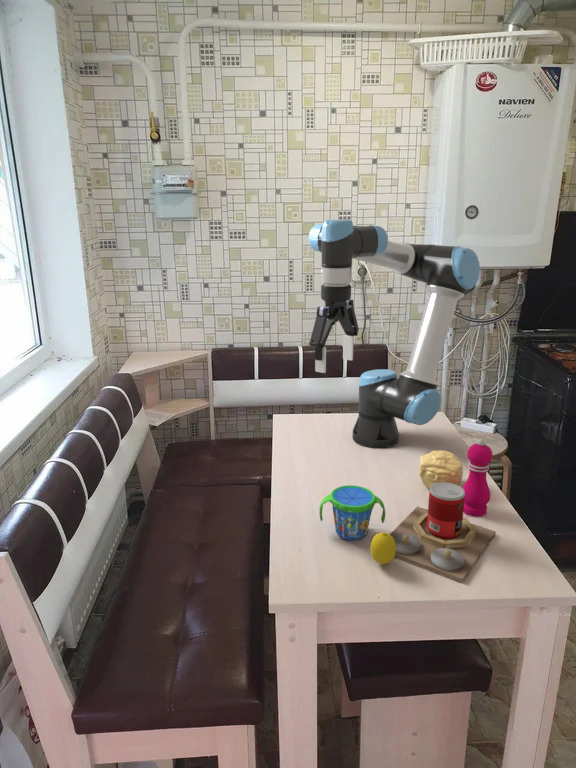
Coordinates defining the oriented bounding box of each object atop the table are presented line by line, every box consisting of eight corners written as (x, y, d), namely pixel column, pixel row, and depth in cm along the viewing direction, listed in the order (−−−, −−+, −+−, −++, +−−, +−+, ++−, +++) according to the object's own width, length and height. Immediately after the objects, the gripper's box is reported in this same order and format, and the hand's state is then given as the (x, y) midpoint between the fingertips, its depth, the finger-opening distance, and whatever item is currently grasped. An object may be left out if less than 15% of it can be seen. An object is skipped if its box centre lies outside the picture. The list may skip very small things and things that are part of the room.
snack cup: (384, 523, 146) (386, 486, 143) (384, 548, 136) (386, 509, 133) (321, 518, 148) (321, 482, 145) (316, 542, 139) (317, 504, 135)
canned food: (462, 541, 137) (466, 499, 133) (426, 538, 138) (430, 496, 135) (459, 524, 144) (463, 483, 140) (426, 520, 145) (429, 480, 142)
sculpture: (414, 492, 161) (416, 456, 157) (424, 473, 171) (426, 439, 168) (457, 501, 156) (460, 464, 153) (464, 481, 167) (468, 446, 163)
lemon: (399, 563, 131) (401, 531, 128) (386, 575, 127) (387, 542, 124) (378, 553, 134) (380, 522, 132) (364, 564, 130) (366, 533, 128)
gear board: (417, 509, 152) (418, 497, 151) (495, 535, 141) (496, 522, 140) (377, 550, 135) (377, 537, 134) (462, 583, 124) (463, 568, 123)
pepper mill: (453, 509, 152) (460, 438, 146) (469, 500, 156) (476, 430, 150) (478, 521, 147) (486, 447, 140) (494, 511, 151) (502, 439, 145)
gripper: (348, 276, 159) (346, 352, 166) (295, 289, 140) (295, 374, 147) (373, 278, 155) (370, 356, 162) (321, 292, 136) (320, 380, 143)
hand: (334, 365), depth 154 cm, fingers open, 13 cm apart
